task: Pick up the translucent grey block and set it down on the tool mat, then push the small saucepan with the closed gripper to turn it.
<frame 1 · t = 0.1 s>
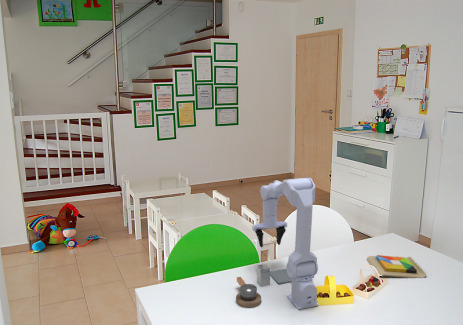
hand: (269, 245, 172), 10 cm above the table, fingers open, 7 cm apart
tool mat: (284, 276, 166), on the table
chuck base: (248, 300, 149), on the table
translucent grey block: (263, 283, 161), on the table
wooden puzzle: (394, 269, 172), on the table
small saucepan: (244, 287, 151), point 3 cm above the table, hinge at 0.0°
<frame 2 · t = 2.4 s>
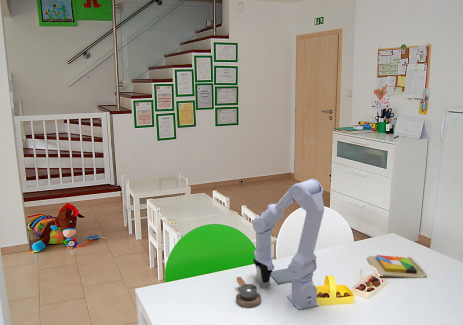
hand: (263, 279, 161), 2 cm above the table, fingers closed on translucent grey block, 4 cm apart
translucent grey block: (263, 283, 161), on the table, touching gripper
everything else where it was.
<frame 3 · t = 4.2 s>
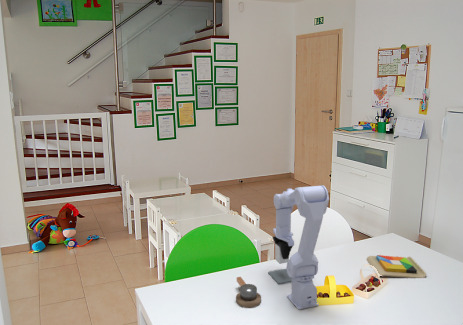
hand: (282, 256, 164), 9 cm above the table, fingers closed on translucent grey block, 4 cm apart
translucent grey block: (282, 260, 164), point 7 cm above the table, touching gripper
everything else where it was.
when the fingers open (4 cm above the table, at t = 5.7 s): translucent grey block drops 1 cm, resting on tool mat.
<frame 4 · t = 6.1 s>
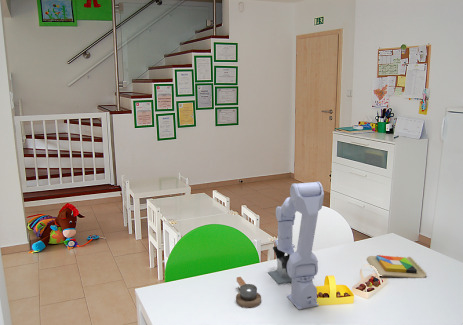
hand: (284, 268, 165), 4 cm above the table, fingers open, 7 cm apart
translucent grey block: (283, 275, 166), point 1 cm above the table, touching tool mat
everything else where it was.
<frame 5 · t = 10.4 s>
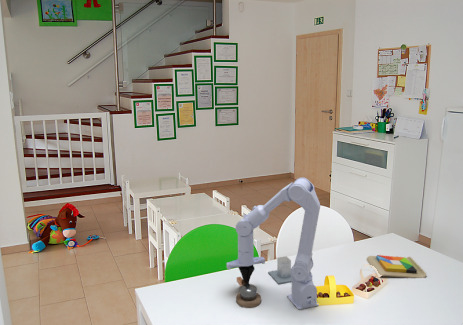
hand: (246, 283, 156), 3 cm above the table, fingers closed, pressing on small saucepan
small saucepan: (244, 287, 151), point 3 cm above the table, hinge at 0.0°, touching gripper
everything else where it was.
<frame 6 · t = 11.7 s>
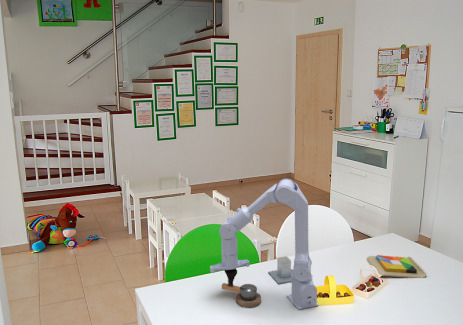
hand: (230, 286, 154), 2 cm above the table, fingers closed, pressing on small saucepan
small saucepan: (239, 289, 150), point 3 cm above the table, hinge at 43.7°, touching gripper
everything else where it was.
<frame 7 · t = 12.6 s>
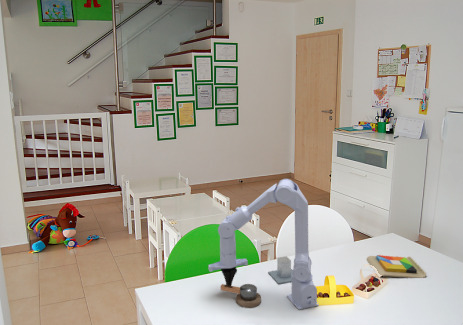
hand: (228, 285, 153), 3 cm above the table, fingers closed
small saucepan: (238, 290, 149), point 3 cm above the table, hinge at 49.4°
everything else where it was.
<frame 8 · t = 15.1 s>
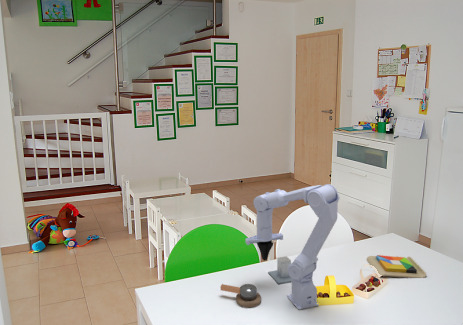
hand: (264, 259, 158), 10 cm above the table, fingers closed
nothing on the table moved.
at the end: small saucepan at +50° (first picture: +0°); translucent grey block 0.3 cm off-centre on the tool mat, point 0.6 cm above the tool mat's base; translucent grey block tilted 0° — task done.
